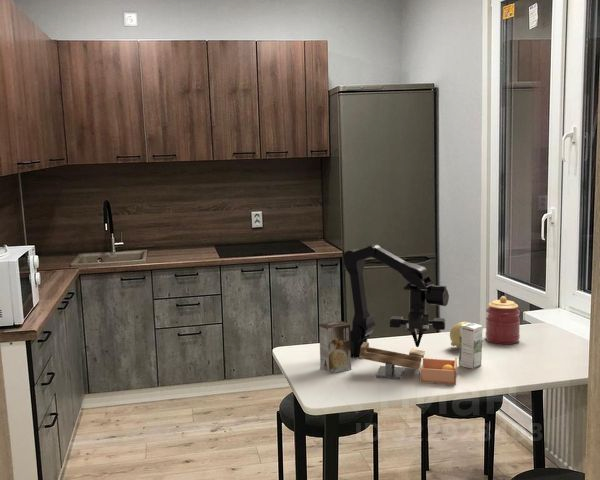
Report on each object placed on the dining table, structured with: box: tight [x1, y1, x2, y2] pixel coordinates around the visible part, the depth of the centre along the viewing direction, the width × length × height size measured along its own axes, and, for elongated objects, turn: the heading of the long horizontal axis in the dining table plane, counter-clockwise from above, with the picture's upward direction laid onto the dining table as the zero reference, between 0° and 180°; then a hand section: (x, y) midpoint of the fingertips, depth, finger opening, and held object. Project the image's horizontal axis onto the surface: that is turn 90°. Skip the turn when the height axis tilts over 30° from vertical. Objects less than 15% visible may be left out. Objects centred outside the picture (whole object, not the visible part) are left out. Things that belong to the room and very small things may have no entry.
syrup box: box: [458, 322, 484, 370], centre depth 223 cm, size 6×6×14 cm
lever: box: [358, 341, 426, 371], centre depth 220 cm, size 20×16×4 cm
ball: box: [442, 365, 454, 370], centre depth 211 cm, size 4×4×4 cm
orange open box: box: [419, 357, 458, 386], centre depth 212 cm, size 11×11×6 cm
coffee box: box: [318, 320, 352, 375], centre depth 221 cm, size 9×6×16 cm
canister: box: [485, 295, 521, 345], centre depth 253 cm, size 13×13×18 cm
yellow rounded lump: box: [449, 321, 470, 348], centre depth 243 cm, size 10×12×11 cm
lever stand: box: [375, 363, 405, 381], centre depth 216 cm, size 8×10×5 cm
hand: (417, 346), depth 224 cm, fingers closed
